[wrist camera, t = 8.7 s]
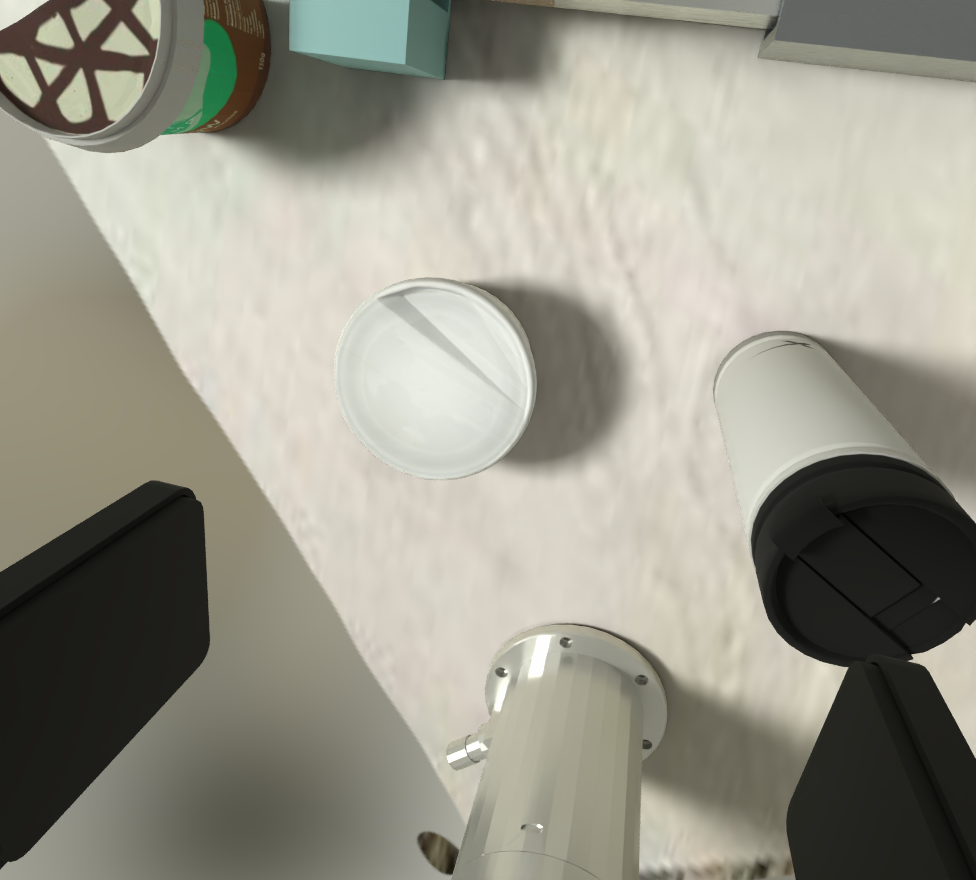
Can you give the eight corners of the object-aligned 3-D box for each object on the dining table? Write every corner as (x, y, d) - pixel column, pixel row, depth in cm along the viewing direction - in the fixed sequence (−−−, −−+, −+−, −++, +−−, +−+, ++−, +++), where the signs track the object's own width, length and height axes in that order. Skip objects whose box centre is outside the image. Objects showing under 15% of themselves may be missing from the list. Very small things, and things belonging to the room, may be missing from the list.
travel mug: (773, 301, 35) (892, 445, 17) (863, 384, 36) (1070, 609, 18) (684, 384, 38) (706, 586, 20) (769, 461, 38) (866, 725, 20)
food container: (152, 182, 41) (8, 188, 32) (106, 72, 39) (-61, 45, 30) (328, 113, 37) (220, 98, 28) (286, -12, 35) (156, -73, 26)
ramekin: (559, 276, 37) (544, 293, 33) (538, 459, 42) (523, 497, 37) (369, 255, 39) (329, 268, 35) (368, 431, 44) (333, 464, 39)
